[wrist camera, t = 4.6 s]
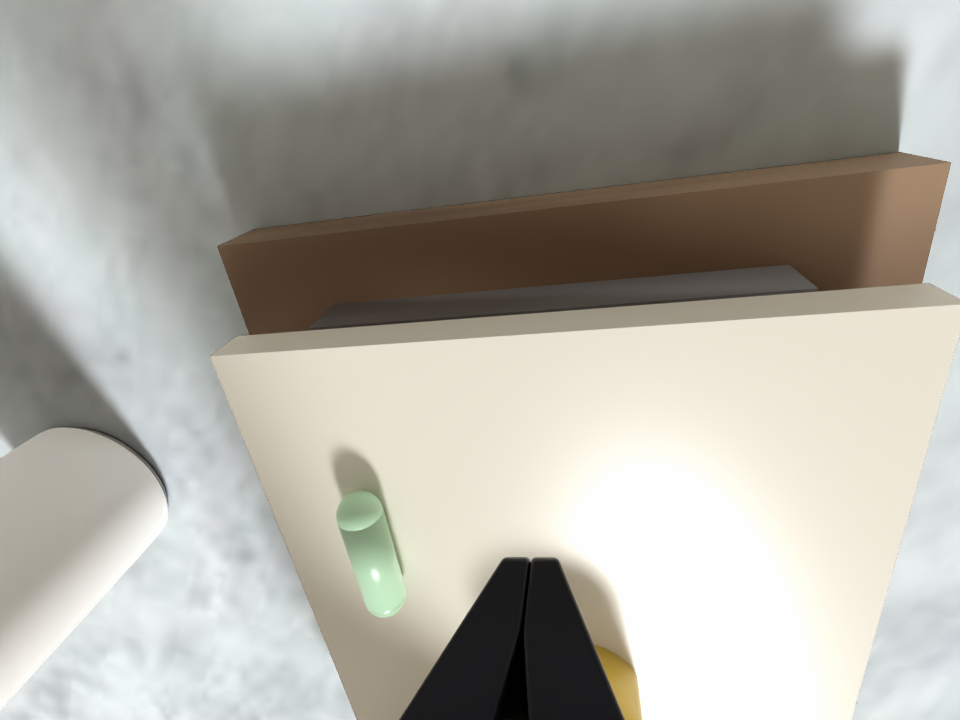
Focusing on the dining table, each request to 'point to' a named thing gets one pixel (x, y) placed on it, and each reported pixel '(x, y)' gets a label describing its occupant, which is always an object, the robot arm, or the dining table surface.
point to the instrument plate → (609, 484)
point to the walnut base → (599, 247)
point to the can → (66, 538)
